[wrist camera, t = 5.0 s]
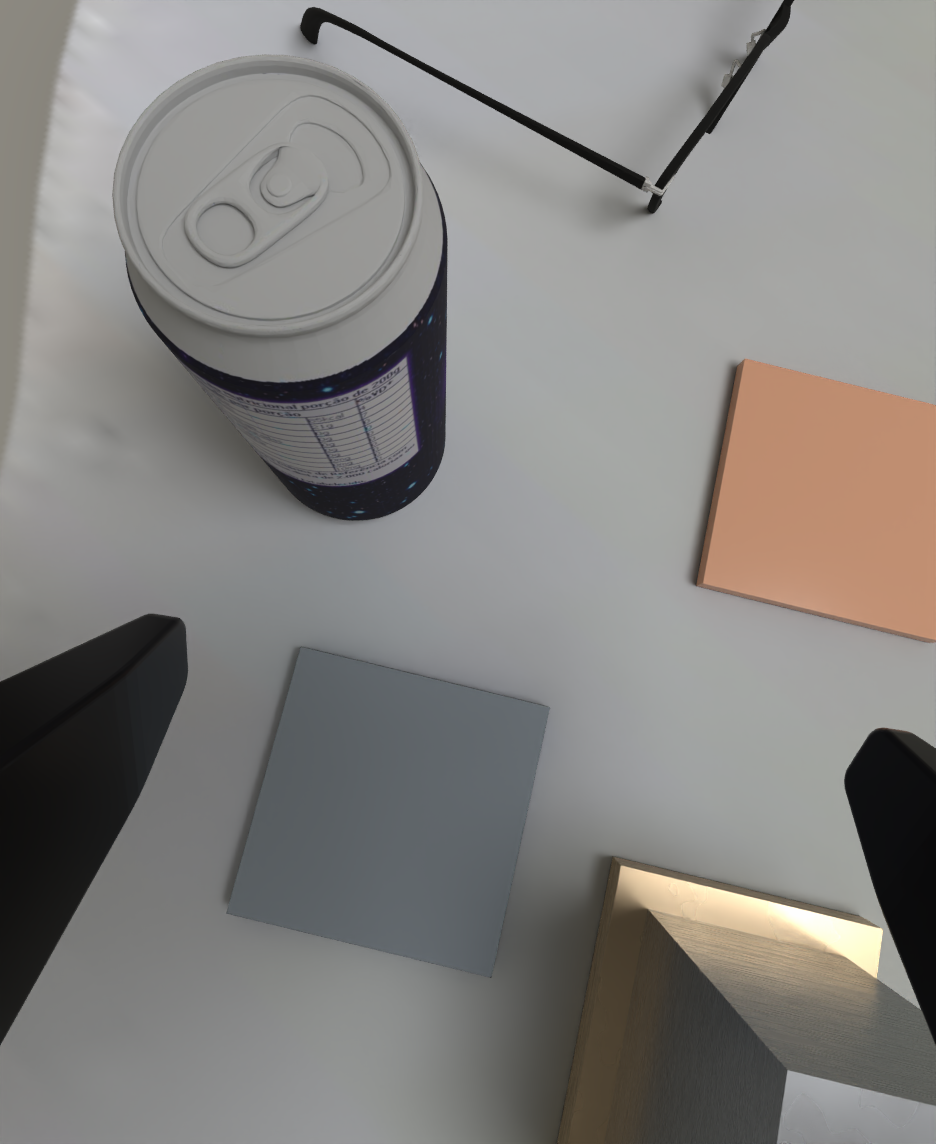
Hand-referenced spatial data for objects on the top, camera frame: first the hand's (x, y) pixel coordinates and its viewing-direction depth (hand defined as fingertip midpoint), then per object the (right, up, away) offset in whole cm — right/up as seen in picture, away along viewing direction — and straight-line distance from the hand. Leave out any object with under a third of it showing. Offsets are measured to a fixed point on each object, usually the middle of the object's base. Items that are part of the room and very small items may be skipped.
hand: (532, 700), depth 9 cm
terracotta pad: (+12, +4, +14) cm, 19 cm away
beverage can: (-4, +6, +14) cm, 16 cm away
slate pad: (-3, -6, +12) cm, 14 cm away
